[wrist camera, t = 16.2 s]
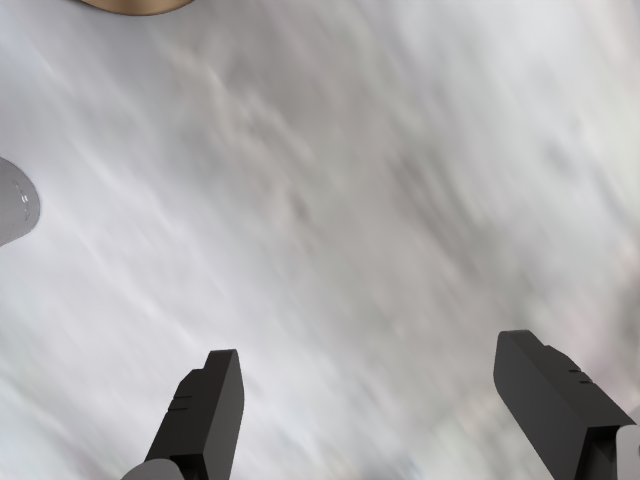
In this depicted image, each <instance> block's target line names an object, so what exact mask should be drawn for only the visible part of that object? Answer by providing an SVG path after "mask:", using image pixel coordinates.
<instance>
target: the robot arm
mask: <svg viewBox="0 0 640 480" xmlns="http://www.w3.org/2000/svg"><path fill="white" fill-rule="evenodd" d="M39 215H40V201H39V197H38V194H37V192H36V189H35V187H34V185H33V184H32V183H31V181H30V180H29V178H28V177H27V176H26V175H25V174H24V173H23V172H22V171H21V170H20V169H19V168H17V167H16V166H15V165H13V164H12V163H10V162H8V161H6V160H4V159H2V158H0V247H1V246H3V245H5V244H7V243H9V242H11V241H13V240H15V239H17V238H19V237H22V236H23V235H25V234H27V233H29V232H30V231H31V230H32V229H33V228H34V227H35V225H36V223H37V222H38V219H39ZM493 376H494V383H495V386H496V389H497V391H498V393H499V395H500V397H501V398H502V400H503V401H504V403H505V404H506V406H507V407H508V409H509V410H510V412H511V413H512V415H513V417H514V418H515V420H516V421H517V423H518V424H519V426H520V427H521V429H522V430H523V432H524V433H525V435H526V437H527V438H528V440H529V441H530V443H531V444H532V446H533V447H534V449H535V450H536V452H537V453H538V455H539V457H540V458H541V460H542V461H543V463H544V464H545V466H546V467H547V469H548V470H549V472H550V473H551V475H552V476H553V478H554V480H640V425H637V424H636V423H635V422H634V421H633V420H632V419H631V418H630V417H629V416H628V415H627V414H626V413H625V412H624V411H623V410H622V409H621V408H620V407H619V406H618V405H617V404H616V403H615V402H614V401H613V400H612V399H611V398H610V397H609V396H608V395H607V394H606V393H605V392H604V391H602V390H601V389H600V388H599V387H598V386H597V385H596V384H595V383H593V382H592V380H591V379H590V378H589V377H588V376H587V375H586V374H585V373H584V372H581V369H580V368H579V367H578V366H577V365H576V364H575V363H574V362H573V361H572V360H571V359H570V358H569V357H568V356H566V355H565V354H563V353H561V352H560V351H558V350H556V349H555V348H553V347H551V346H549V345H548V346H544V345H543V344H542V343H541V342H540V341H539V340H538V339H537V338H536V336H535V335H534V334H533V333H532V332H531V331H529V330H513V331H502V332H500V333H499V336H498V341H497V348H496V356H495V364H494V372H493ZM243 410H244V387H243V381H242V375H241V369H240V363H239V357H238V353H237V350H236V349H229V350H215V351H210V353H209V355H208V358H207V360H206V363H205V365H204V368H203V369H193V370H192V371H191V372H190V373H189V374H188V375H187V376H186V377H185V378H184V379H183V380H182V381H181V382H180V384H179V386H178V388H177V390H176V392H175V395H174V397H173V400H172V401H171V403H170V406H169V408H168V412H167V413H166V414H165V417H164V419H163V421H162V423H161V425H160V428H159V430H158V432H157V434H156V436H155V439H154V441H153V443H152V445H151V448H150V450H149V452H148V454H147V456H146V459H145V461H144V462H143V463H142V464H140V465H138V466H136V467H135V468H133V469H132V470H130V471H129V472H128V473H127V474H126V475H125V476H124V477H123V478H122V479H121V480H229V478H230V473H231V468H232V463H233V458H234V454H235V449H236V444H237V439H238V434H239V430H240V425H241V420H242V415H243Z"/></svg>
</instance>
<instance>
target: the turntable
mask: <svg viewBox="0 0 640 480" xmlns="http://www.w3.org/2000/svg"><path fill="white" fill-rule="evenodd" d="M82 1H84V2H86V3H89V4H91V5H93V6H95V7H98V8H100V9H103V10H107V11H110V12H113V13H117V14H124V15H130V16H151V15H158V14H164V13H167V12H170V11H174V10H177V9H179V8H181V7H183V6H185V5H187V4H189V3H191V2H193V1H194V0H82Z"/></svg>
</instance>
